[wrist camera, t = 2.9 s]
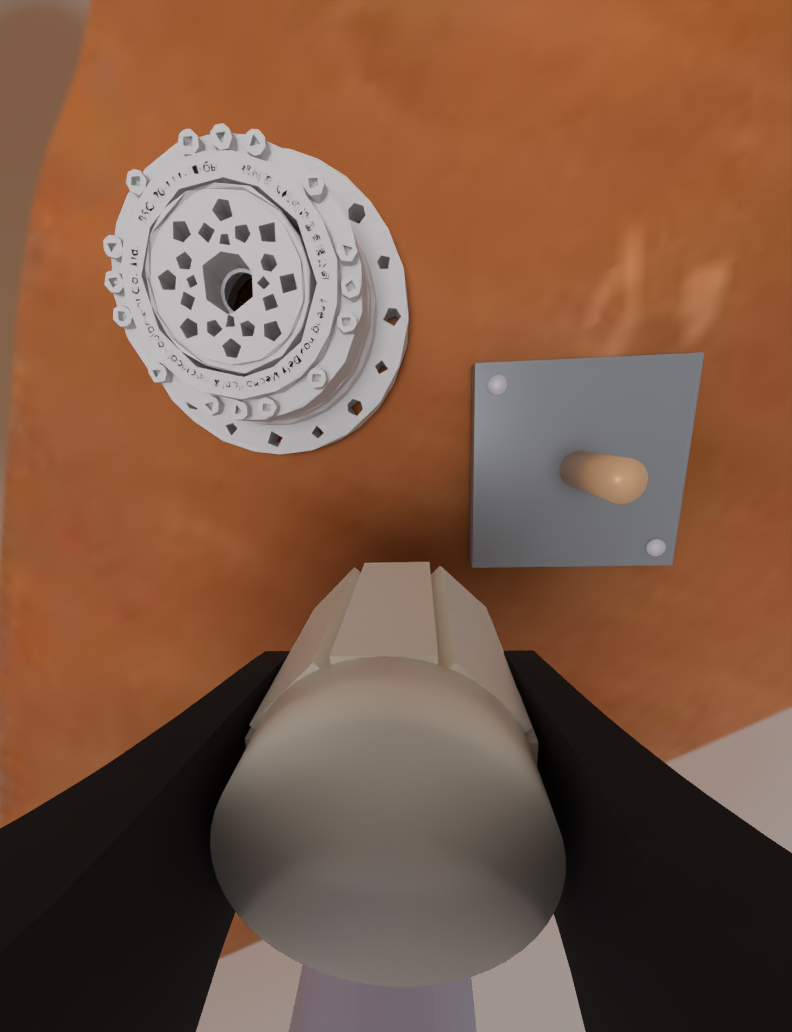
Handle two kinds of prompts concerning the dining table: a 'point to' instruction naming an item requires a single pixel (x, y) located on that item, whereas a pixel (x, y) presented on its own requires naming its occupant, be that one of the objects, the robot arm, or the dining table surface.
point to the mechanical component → (258, 290)
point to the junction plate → (580, 459)
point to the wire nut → (392, 792)
